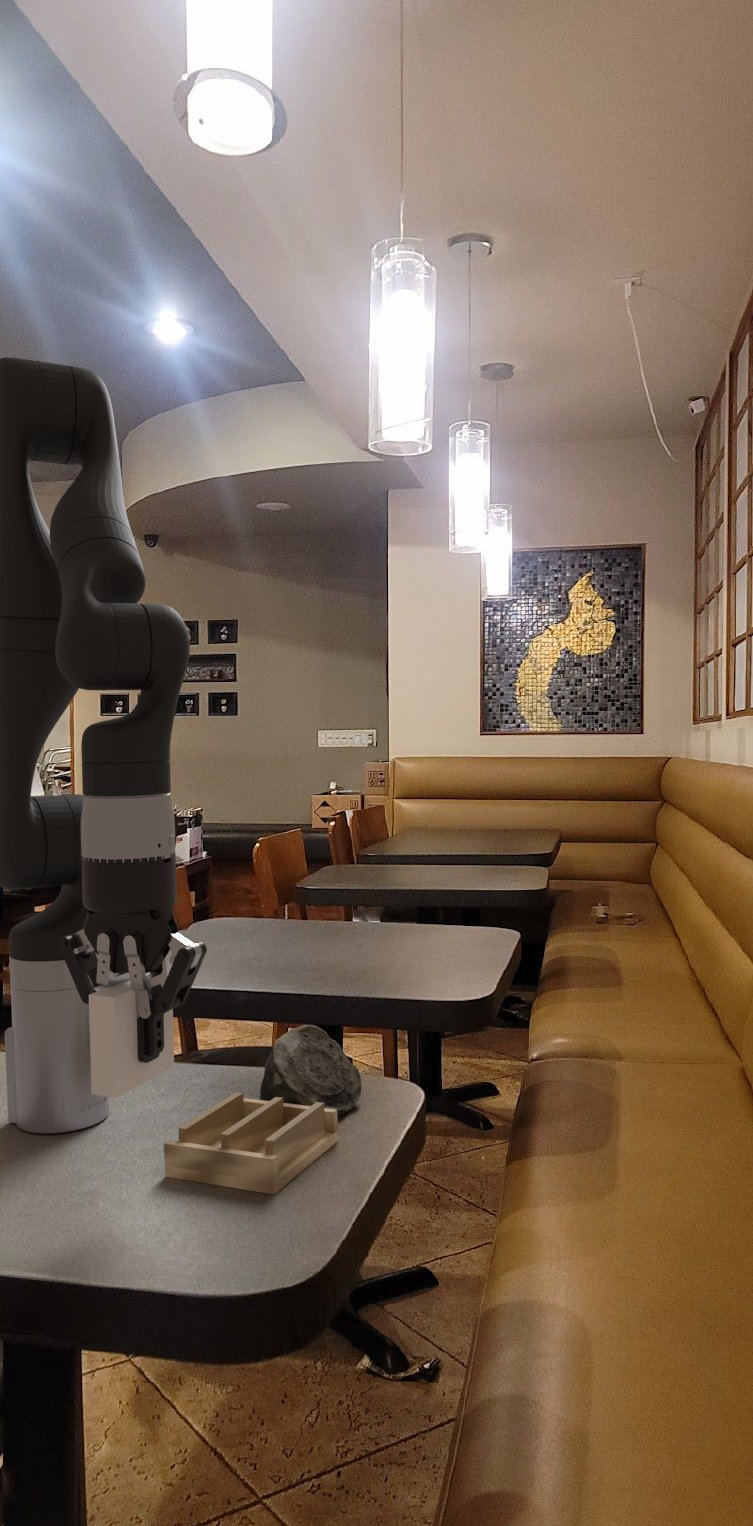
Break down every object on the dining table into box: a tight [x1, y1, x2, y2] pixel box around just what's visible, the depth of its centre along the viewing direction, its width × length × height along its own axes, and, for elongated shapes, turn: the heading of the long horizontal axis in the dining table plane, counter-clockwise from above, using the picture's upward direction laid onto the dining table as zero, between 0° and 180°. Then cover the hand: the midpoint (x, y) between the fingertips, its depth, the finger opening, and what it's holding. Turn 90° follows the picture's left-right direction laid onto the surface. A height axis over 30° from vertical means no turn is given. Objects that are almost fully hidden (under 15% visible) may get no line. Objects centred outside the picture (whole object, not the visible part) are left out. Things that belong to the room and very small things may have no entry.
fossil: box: [259, 1024, 363, 1118], centre depth 112 cm, size 11×9×10 cm
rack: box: [163, 1091, 339, 1195], centre depth 99 cm, size 11×13×4 cm
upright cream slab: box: [89, 972, 175, 1099], centre depth 89 cm, size 2×8×8 cm, turn 157°
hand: (134, 1056), depth 89 cm, fingers closed on upright cream slab, 2 cm apart
